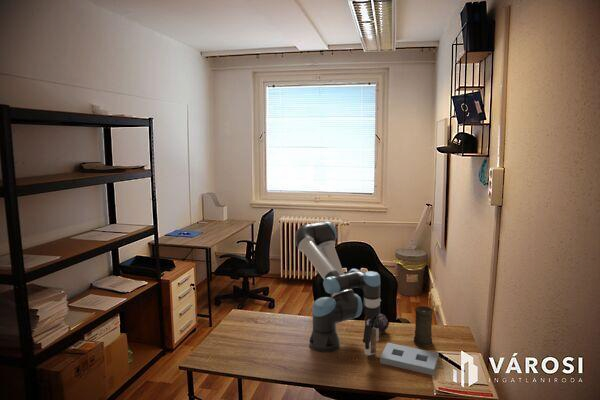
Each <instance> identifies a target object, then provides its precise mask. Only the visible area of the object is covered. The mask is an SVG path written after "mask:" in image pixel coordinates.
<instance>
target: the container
mask: <svg viewBox="0 0 600 400" xmlns="http://www.w3.org/2000/svg"><path fill="white" fill-rule="evenodd" d="M414 312H415V330H414V336H413V343H414V344H415V345H416V346H417V347H421V348H429V347H432V346H433V338H432V335H433V334H432V333H433V332H432V325H433V324H432V322H433V321H432V319H433V318H432V316H433V313H434V310H433V308H431V307H429V306H425V305H424V306H423V305H422V306H421V305H420V306H416V307H415V309H414Z"/></svg>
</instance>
